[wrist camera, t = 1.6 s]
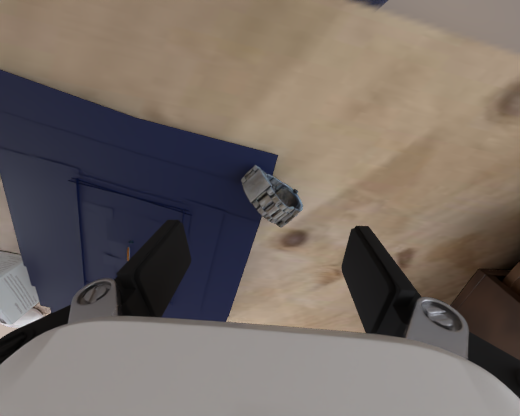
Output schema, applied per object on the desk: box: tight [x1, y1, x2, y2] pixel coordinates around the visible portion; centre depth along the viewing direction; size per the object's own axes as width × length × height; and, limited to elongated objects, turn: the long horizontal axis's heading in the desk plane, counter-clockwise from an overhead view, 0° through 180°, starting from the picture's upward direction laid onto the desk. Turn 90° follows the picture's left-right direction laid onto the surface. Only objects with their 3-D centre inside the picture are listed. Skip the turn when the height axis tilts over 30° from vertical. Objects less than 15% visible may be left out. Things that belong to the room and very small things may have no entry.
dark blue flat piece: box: [0, 70, 278, 322], centre depth 22 cm, size 24×30×4 cm
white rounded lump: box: [0, 308, 44, 328], centre depth 32 cm, size 3×8×3 cm, turn 86°
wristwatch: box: [241, 165, 303, 227], centre depth 15 cm, size 3×5×5 cm
